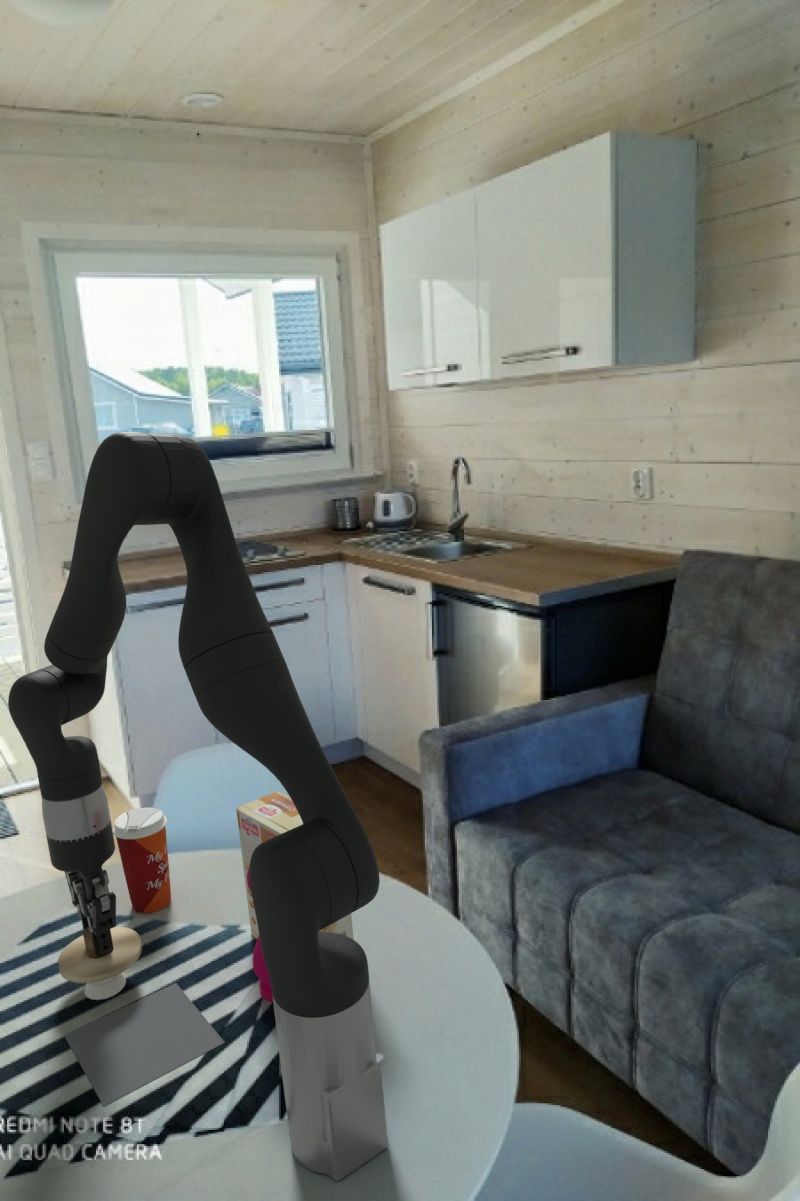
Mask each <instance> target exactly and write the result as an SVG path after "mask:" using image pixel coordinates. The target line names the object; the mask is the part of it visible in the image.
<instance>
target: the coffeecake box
mask: <svg viewBox="0 0 800 1201" xmlns="http://www.w3.org/2000/svg"><path fill="white" fill-rule="evenodd" d="M235 811H236V817H237V818H236V819H237V824H238V833H239V842H240V849H241V850H240V851H241V857H242V859H241V860H242V864H243V865H242V866H243V876H244V884H245V891H246V900H247V907H248V916H249V924H250V925H249V926H250V933H251V935H252V937H254V938H255V939H256V940H257V939H258V936H259V930H258V924H257V919H256V914H255V909H254V904H253V899H252V893H251V891H250V889H249V888H248V884H247V872H248V869H249V866H250V860H251V856H252V853H253V851H254V850H255V848H256V847H257V846H258V845H260V844H261V843H263V842H265V841H267V840H269V839H271V838H273V837H275V836H278V835H280V834H282V833H284V832H287V831H289V830H291V829H293V828H296V827H298V826H300V825H302V824H303V822H302V819H301V817H300V815H299V813H298V811H297V809H296V807H295V805H294V803H293V801H292V800H291V798H290V796H289V795H286V794H283V793H282V792H280V791H276V792H273V793H270V794H267V795H265V796H262V797H259V798H258V799H255V800H253V801H250V802H247V803H245V804H242V805H240V806H238V807H236V810H235ZM352 919H353V918H352V913H351V914H349V915H347V916H346V917H344V918H342V919H340V920H338V921H336V922H335V923H333V924H331V925H329V926H327V927H325V928H324V929H322V930H320V931H319V932H331V933H337V934H341V935H345V936H347V937H349V938H351V939H353V940H354V941H355V939H354V931H353V930H354V928H353V920H352Z"/></svg>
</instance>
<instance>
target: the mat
mask: <svg viewBox="0 0 800 1201" xmlns="http://www.w3.org/2000/svg"><path fill="white" fill-rule="evenodd" d="M63 1036H64V1038H65V1040H66V1042H67V1044H68V1045H69V1048H70V1049H71V1051H72V1053H73V1054H74V1056H75V1058H76V1060H77V1062H78V1063H79V1065H80V1067H81V1069H82V1071H83V1072H84V1075H85V1076H86V1078H87V1079H88V1081H89V1083H90V1084H91V1086H92V1088H93V1090H94V1092H95V1093H96V1096H97V1097H98V1099H99V1100H100V1103H101V1104H102V1106H103V1107H107V1106H108V1105H110V1104H111V1103H113V1102H115V1101H117V1100H119V1099H122V1098H123V1097H125V1096H126V1095H129V1094H130V1093H133V1092H134V1091H136V1090H138V1089H140V1088H142V1087H144V1086H146V1085H148V1084H149V1083H151V1082H153V1081H155V1080H157V1079H159V1078H161V1077H163V1076H164V1075H166V1074H168V1073H170V1072H172V1071H174V1070H176V1069H178V1068H180V1067H181V1066H183V1065H185V1064H187V1063H190V1062H191V1061H193V1060H195V1059H196V1058H199V1057H201V1056H202V1055H205V1054H206V1053H208V1052H211V1051H212V1050H214V1049H216V1048H218V1047H220V1046H221V1045H223V1044H225V1043H226V1042H225V1041H224V1040H223V1038H222V1037H221V1036H220V1034H219V1033H218V1032H217V1031H216V1030H215V1028H214V1027H213V1026H212V1025H211V1024H210V1023H209V1021H208V1020H207V1019H206V1018H205V1016H204V1015H203V1014H202V1013H201V1011H200V1010H199V1008H197V1007H196V1005H195V1004H194V1003H193V1002H192V1000H191V999H190V998H189V997H188V996H187V994H186V993H185V992H184V991H183V990H182V988H181V987H180V986H179V985H178V983H177V982H175V983H172V984H171V985H169V986H167V987H164V988H162V989H160V990H158V991H156V992H154V993H151V994H149V995H147V996H145V997H143V998H141V999H138V1000H137V1001H135V1002H132V1003H130V1004H128V1005H126V1006H124V1007H121V1008H120V1009H118V1010H115V1011H112V1013H109V1014H106V1015H104V1016H101V1017H100V1018H98V1019H96V1020H94V1021H92V1022H90V1023H88V1024H85V1025H83V1026H82V1027H79V1028H77V1029H75V1030H72V1031H70V1032H68V1033H66V1034H64V1035H63Z"/></svg>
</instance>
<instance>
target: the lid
mask: <svg viewBox="0 0 800 1201" xmlns="http://www.w3.org/2000/svg"><path fill="white" fill-rule="evenodd" d="M110 931H111V936H112V942H113V951H112V952H111V953H109V954H107V955H105V956H103V957H100V958H98V957H96V955H95V954H94V949H93V943H92V938H91V932H90V930H89V926H88V927H86V928H85V929H84V931H83V930H82V935H80V936H79V937H77V938H75V939H74V940H72V941H71V942H70V943H69V944H67V945H66V946H65V947H64V948H63V949H62V951H61V952H60V954H59V956H58V959H57V960H58V961H57V963H58V968H59V974H60V975H61V976H62V978H63V979H64V980H66V981H68V982H70V983H75V984H87V983H94V982H99V981H103V980H106V979H109V978H112V977H114V976H116V975H118V974H120V973H121V974H123V973H124V972H125V971H127V970H128V969H130V967H132V966H133V965H134V964H135V963H136V962H137V961H138V959H139V958H140V957H141V954H142V951H143V944H142V939H141V936H140V935H139V933H138V932H137V931H135V930H134V929H131V928H128V927H122V926H116V927H114V928H111V929H110Z"/></svg>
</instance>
